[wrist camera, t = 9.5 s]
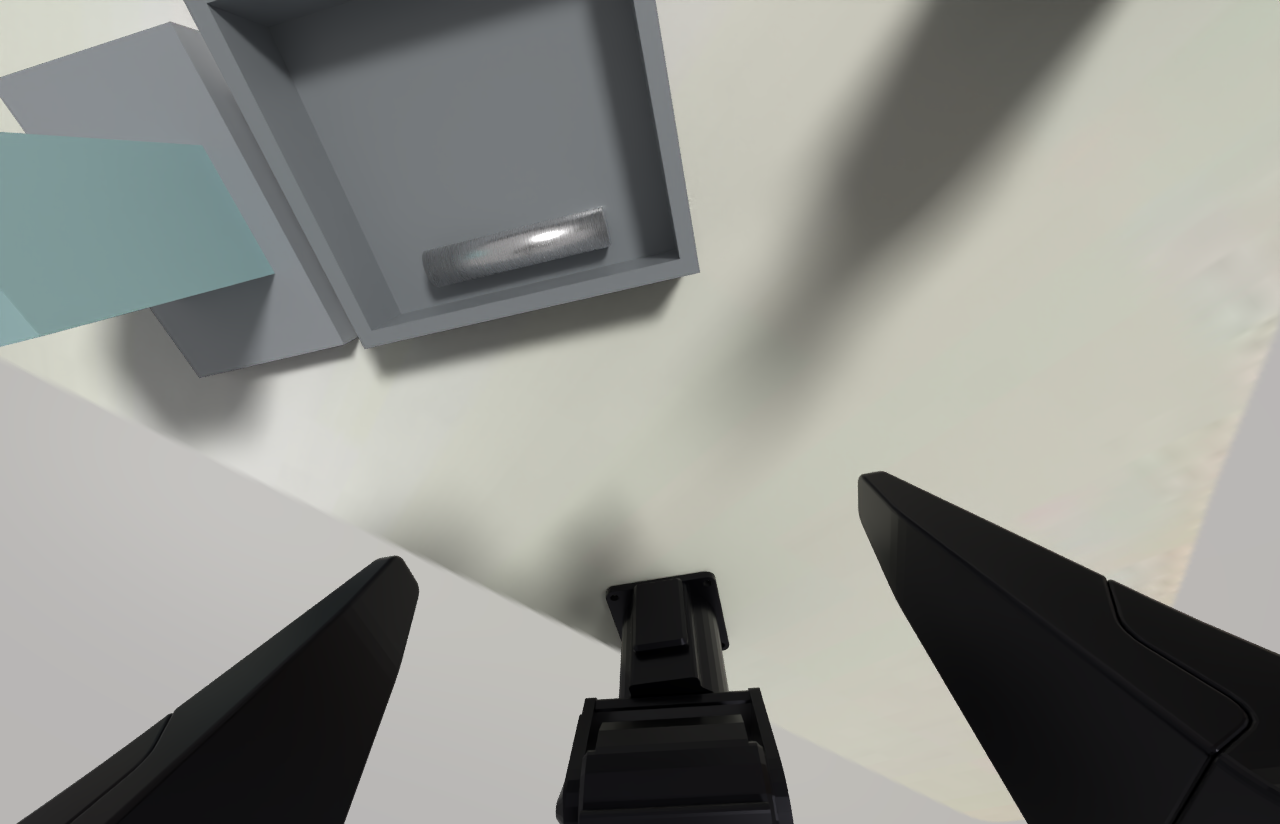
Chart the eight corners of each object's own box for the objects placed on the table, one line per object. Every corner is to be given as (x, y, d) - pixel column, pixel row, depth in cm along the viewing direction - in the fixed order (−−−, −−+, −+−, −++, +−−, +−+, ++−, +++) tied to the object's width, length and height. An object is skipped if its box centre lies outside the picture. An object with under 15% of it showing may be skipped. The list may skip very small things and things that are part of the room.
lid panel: (359, 335, 21) (344, 344, 20) (221, 367, 21) (199, 378, 20) (202, 32, 16) (170, 21, 15) (31, 87, 17) (-12, 81, 16)
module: (274, 273, 18) (0, 347, 10) (175, 298, 19) (-159, 387, 11) (202, 145, 16) (-206, 118, 8) (93, 177, 17) (-387, 179, 9)
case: (692, 258, 19) (699, 272, 16) (400, 326, 20) (364, 348, 18) (622, -152, 14) (617, -230, 11) (236, -23, 15) (149, -66, 13)
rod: (612, 245, 18) (609, 246, 17) (447, 285, 19) (431, 289, 18) (603, 207, 18) (600, 206, 16) (433, 249, 19) (417, 251, 17)
